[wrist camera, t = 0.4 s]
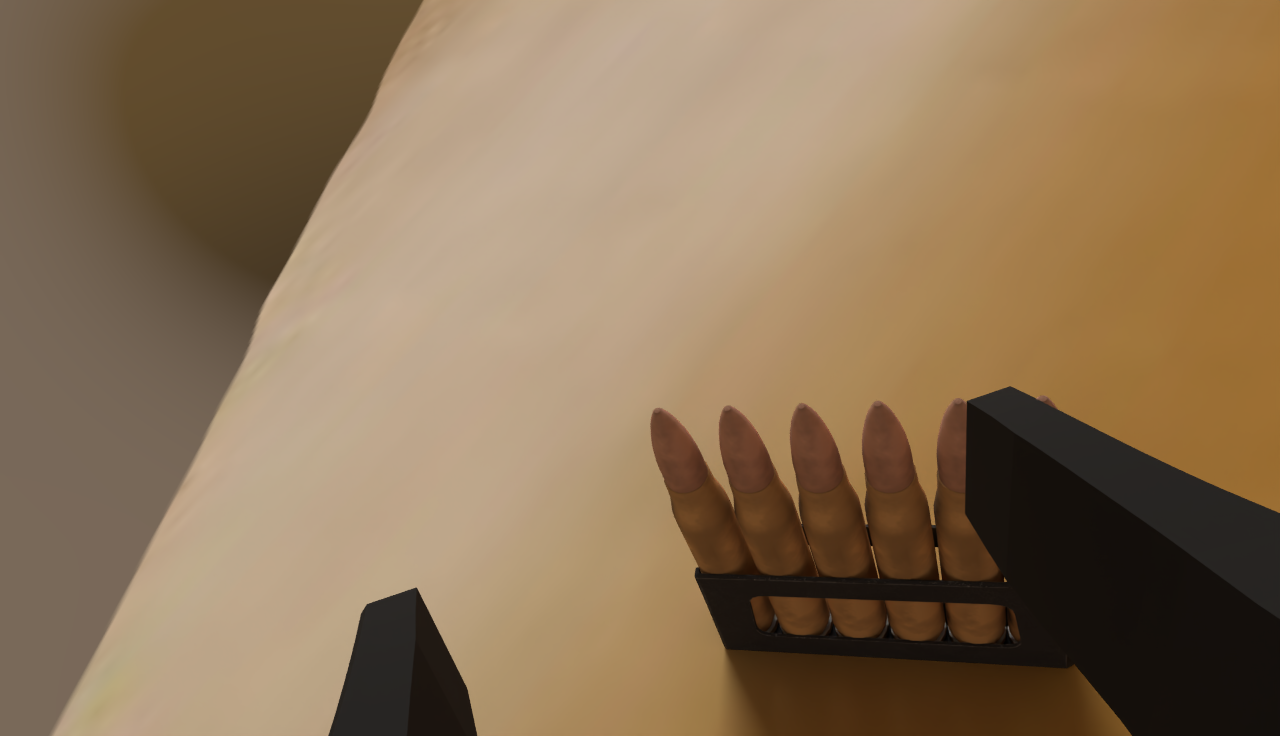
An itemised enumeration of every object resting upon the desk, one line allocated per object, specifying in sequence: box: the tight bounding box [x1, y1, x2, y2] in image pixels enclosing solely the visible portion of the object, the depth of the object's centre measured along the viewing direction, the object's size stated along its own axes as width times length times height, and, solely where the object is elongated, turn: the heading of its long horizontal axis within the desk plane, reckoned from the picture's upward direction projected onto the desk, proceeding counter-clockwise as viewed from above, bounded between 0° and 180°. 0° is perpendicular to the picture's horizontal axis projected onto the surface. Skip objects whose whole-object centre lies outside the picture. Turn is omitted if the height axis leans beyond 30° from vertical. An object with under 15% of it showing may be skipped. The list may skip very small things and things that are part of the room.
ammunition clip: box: [651, 396, 1074, 668], centre depth 27 cm, size 11×2×12 cm, turn 79°
